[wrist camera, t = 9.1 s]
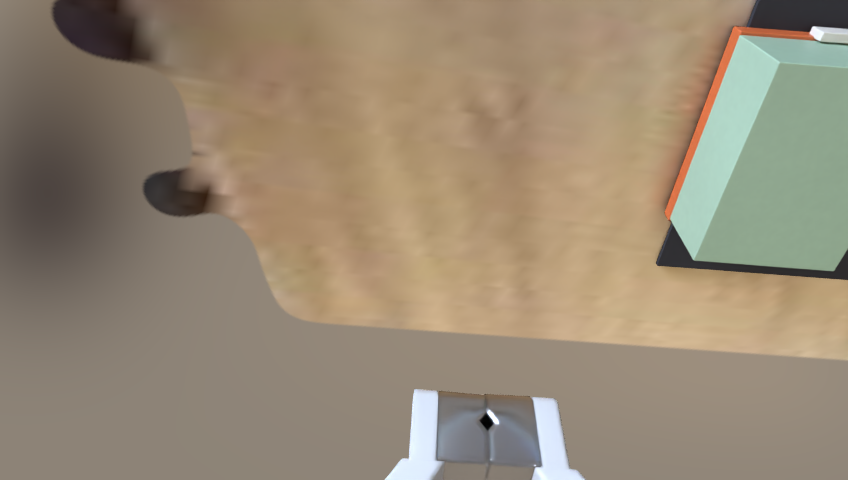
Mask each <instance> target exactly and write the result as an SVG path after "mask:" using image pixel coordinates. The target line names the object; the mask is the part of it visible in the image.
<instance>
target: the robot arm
mask: <svg viewBox="0 0 848 480" xmlns="http://www.w3.org/2000/svg"><path fill="white" fill-rule="evenodd" d="M385 480H586V479H585V478H584V477H583V476H582V475H581V473H580V472H579V471H578V470H573V469H570V465H569V459H568V454H567V449H566V444H565V438H564V433H563V428H562V422H561V417H560V412H559V406H558V402H557V401H556V399H555V398H539V397H530V396H513V395H493V394H484V395H479V394H467V393H456V392H445V391H439V392H438V391H433V390H419V389H415V390H414V395H413V408H412V423H411V436H410V451H409V459H401V460H400V462H399V463H398V464H397V465H396V467H395V468H394V469H393V471H392V472H391V473H390V474H389V476H388V477H387V478H386V479H385Z"/></svg>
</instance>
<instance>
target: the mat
mask: <svg viewBox="0 0 848 480" xmlns="http://www.w3.org/2000/svg"><path fill="white" fill-rule="evenodd" d="M813 26H815V27H828V28H841V29H848V0H757V1H756V4H755V6H754V9H753V11H752V14H751V17H750V19H749V22H748V24H747V27H750V28H763V29H775V30H788V31H801V32H810V31H811V29H812V27H813ZM656 264H657V266H669V267H683V268H696V269H709V270H723V271H736V272H750V273H763V274H776V275H790V276H803V277H816V278H830V279H843V280H848V249H847V251H846V252H845V254H844V256H843V257H842V259H841V260H840V262H839V264H838V265H837V267H836V268H835V270H834V271H824V270H811V269H798V268H785V267H772V266H759V265H746V264H733V263H720V262H707V261H694V260H693V259H692V257H691V255H690V253H689V252H688V250H687V248H686V246H685V245H684V243H683V241H682V239H681V238H680V236H679V234H678V232H677V231H676V229H675V227H674V225H673V224H672V223H671V226H670V228H669V231H668V234H667V236H666V239H665V241H664V244H663V247H662V249H661V252H660V254H659V257H658V260H657V262H656Z"/></svg>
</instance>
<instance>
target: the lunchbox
mask: <svg viewBox="0 0 848 480" xmlns="http://www.w3.org/2000/svg"><path fill="white" fill-rule="evenodd" d="M665 215H666V217H667V219H668V220H669V221H671V222H672V224H673V225H674V227H675V229H676V231H677V232H678V234H679V236H680V238H681V239H682V241H683V243H684V245H685V246H686V248H687V250H688V252H689V253H690V255H691V257H692V259H693V260H694V261H707V262H720V263H733V264H746V265H759V266H772V267H785V268H798V269H811V270H824V271H834V270H835V268H836V267H837V265H838V264H839V262H840V260H841V259H842V257H843V256H844V254H845V252H846V251H847V249H848V29H841V28H828V27H815V26H813V27H812V29H811V31H810V32H801V31H788V30H775V29H763V28H750V27H737V26H735V27H733V30H732V33H731V35H730V38H729V41H728V44H727V46H726V49H725V52H724V54H723V57H722V60H721V62H720V65H719V68H718V70H717V73H716V76H715V78H714V81H713V84H712V86H711V89H710V92H709V95H708V97H707V100H706V103H705V105H704V108H703V111H702V113H701V116H700V119H699V121H698V124H697V127H696V129H695V132H694V135H693V138H692V140H691V143H690V146H689V148H688V151H687V154H686V156H685V159H684V162H683V164H682V167H681V170H680V172H679V175H678V178H677V181H676V183H675V186H674V189H673V191H672V194H671V197H670V199H669V202H668V205H667V207H666V210H665Z"/></svg>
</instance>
